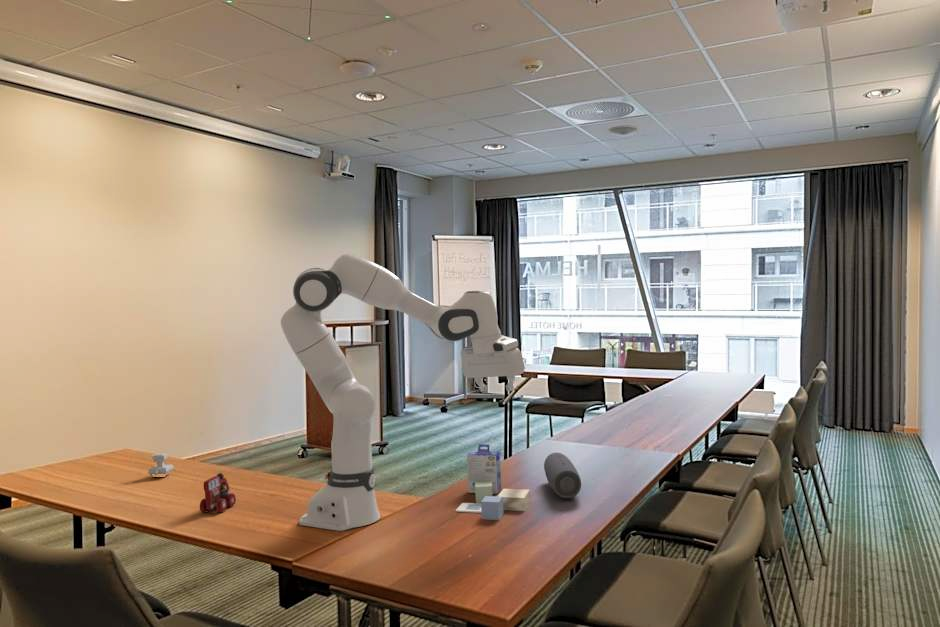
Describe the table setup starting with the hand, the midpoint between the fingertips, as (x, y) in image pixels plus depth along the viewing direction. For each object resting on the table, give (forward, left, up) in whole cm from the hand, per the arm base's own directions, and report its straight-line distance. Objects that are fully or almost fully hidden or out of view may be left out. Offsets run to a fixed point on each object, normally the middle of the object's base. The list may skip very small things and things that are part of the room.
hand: (497, 391), depth 188 cm
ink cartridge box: (-9, +14, -34) cm, 37 cm away
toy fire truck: (-86, -14, -34) cm, 93 cm away
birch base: (+3, +1, -34) cm, 34 cm away
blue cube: (-1, -9, -34) cm, 35 cm away
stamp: (-134, +17, -34) cm, 139 cm away
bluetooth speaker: (+15, +17, -34) cm, 41 cm away
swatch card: (-8, -3, -34) cm, 35 cm away
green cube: (-7, +5, -34) cm, 35 cm away
